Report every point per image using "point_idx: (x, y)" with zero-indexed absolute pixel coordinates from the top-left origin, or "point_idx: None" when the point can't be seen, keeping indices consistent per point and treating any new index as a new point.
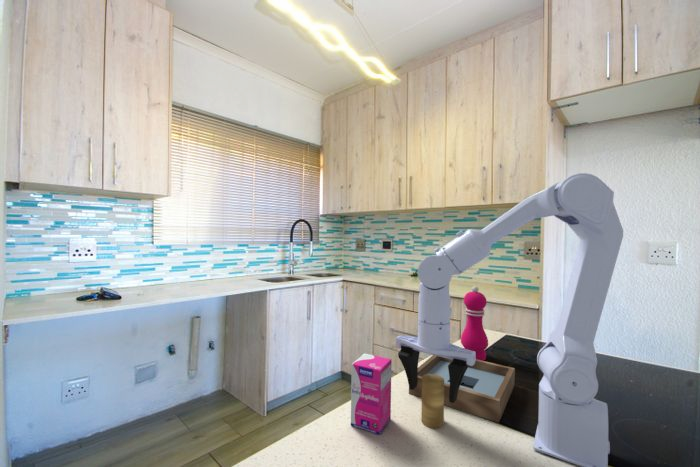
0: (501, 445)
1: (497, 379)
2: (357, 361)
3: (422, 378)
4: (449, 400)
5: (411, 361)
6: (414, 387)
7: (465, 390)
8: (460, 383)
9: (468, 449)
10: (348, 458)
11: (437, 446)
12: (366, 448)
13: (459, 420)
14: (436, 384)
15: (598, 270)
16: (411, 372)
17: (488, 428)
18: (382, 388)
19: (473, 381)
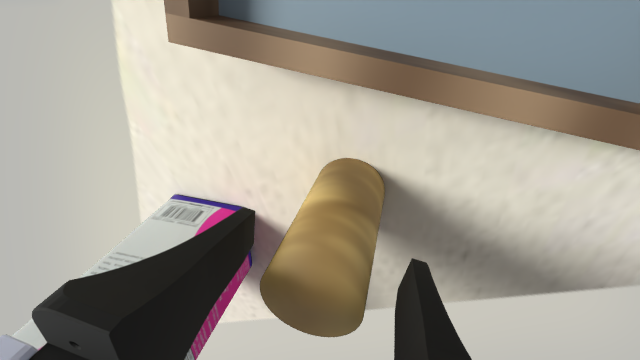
0: (567, 242)
1: None
2: None
3: (267, 304)
4: (397, 297)
5: (176, 356)
6: (252, 231)
7: (487, 101)
8: (449, 320)
9: (454, 271)
10: (240, 316)
11: (377, 273)
12: (251, 296)
13: (438, 154)
14: (335, 335)
15: None
16: (211, 302)
17: (549, 169)
18: (190, 354)
19: None
